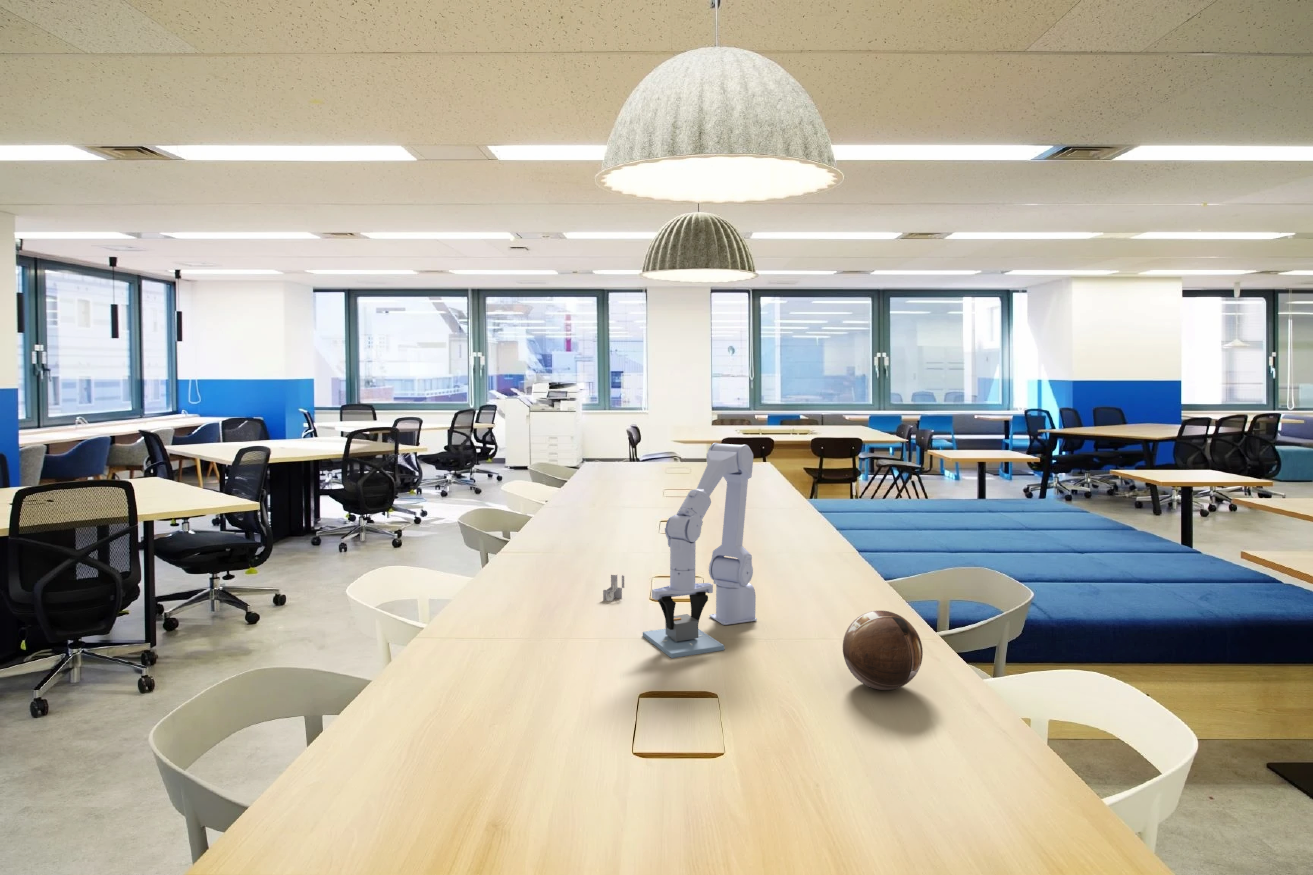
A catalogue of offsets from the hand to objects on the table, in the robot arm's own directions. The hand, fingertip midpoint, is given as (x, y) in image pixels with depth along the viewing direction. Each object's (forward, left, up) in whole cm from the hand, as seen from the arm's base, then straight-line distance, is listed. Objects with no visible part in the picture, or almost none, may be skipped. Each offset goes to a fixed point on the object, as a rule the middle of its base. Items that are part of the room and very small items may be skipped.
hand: (682, 626), depth 183 cm
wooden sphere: (-25, +39, -4) cm, 46 cm away
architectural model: (0, -35, -4) cm, 35 cm away
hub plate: (0, 0, -4) cm, 4 cm away
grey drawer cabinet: (0, 0, -2) cm, 2 cm away
